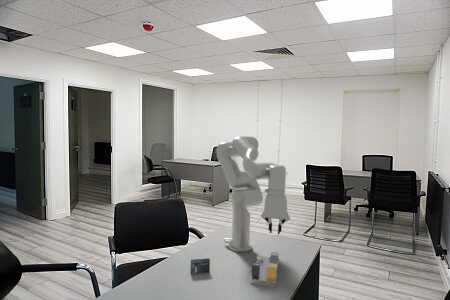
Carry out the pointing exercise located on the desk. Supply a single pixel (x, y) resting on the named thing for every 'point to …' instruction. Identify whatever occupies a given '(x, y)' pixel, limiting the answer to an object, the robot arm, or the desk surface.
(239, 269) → the desk surface
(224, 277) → the desk surface
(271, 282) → the panel
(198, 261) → the mini dv tape
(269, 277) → the amber rocker
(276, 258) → the slate rocker
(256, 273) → the slider knob
